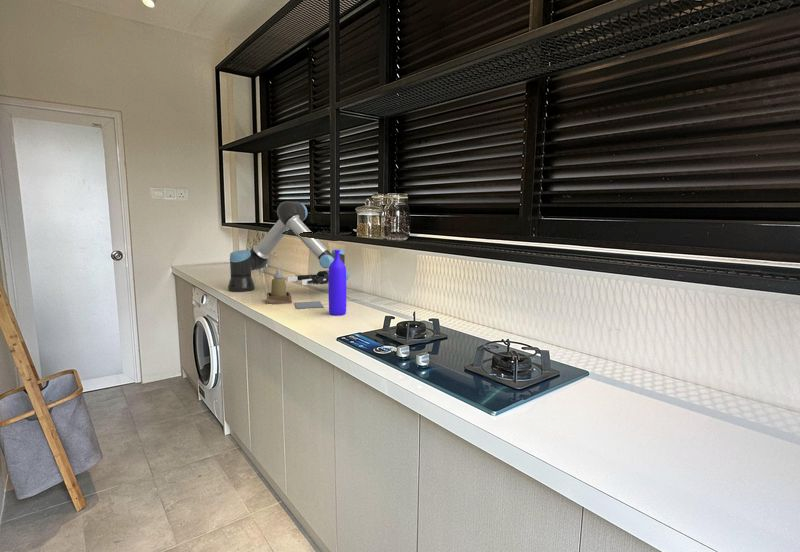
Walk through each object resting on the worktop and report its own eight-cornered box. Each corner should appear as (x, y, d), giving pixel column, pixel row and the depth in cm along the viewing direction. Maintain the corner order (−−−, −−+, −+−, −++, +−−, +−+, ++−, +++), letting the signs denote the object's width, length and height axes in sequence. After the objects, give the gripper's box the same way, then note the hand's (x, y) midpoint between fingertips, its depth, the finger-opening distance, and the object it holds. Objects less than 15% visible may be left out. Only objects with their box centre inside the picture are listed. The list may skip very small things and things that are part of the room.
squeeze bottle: (268, 301, 218) (267, 267, 215) (281, 299, 224) (280, 266, 221) (276, 304, 212) (275, 269, 210) (289, 301, 218) (289, 268, 216)
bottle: (334, 316, 188) (334, 251, 184) (325, 313, 194) (324, 249, 190) (350, 314, 194) (350, 250, 189) (340, 310, 200) (340, 249, 195)
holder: (266, 300, 222) (266, 292, 221) (289, 298, 226) (289, 291, 225) (267, 304, 210) (267, 297, 210) (291, 303, 214) (291, 295, 214)
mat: (294, 303, 214) (294, 302, 214) (319, 302, 218) (319, 301, 218) (296, 309, 202) (296, 307, 202) (323, 307, 206) (323, 306, 206)
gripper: (339, 286, 232) (308, 290, 216) (312, 281, 248) (281, 285, 232) (339, 272, 231) (308, 276, 215) (312, 268, 247) (281, 271, 231)
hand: (294, 281), depth 224 cm, fingers open, 13 cm apart
